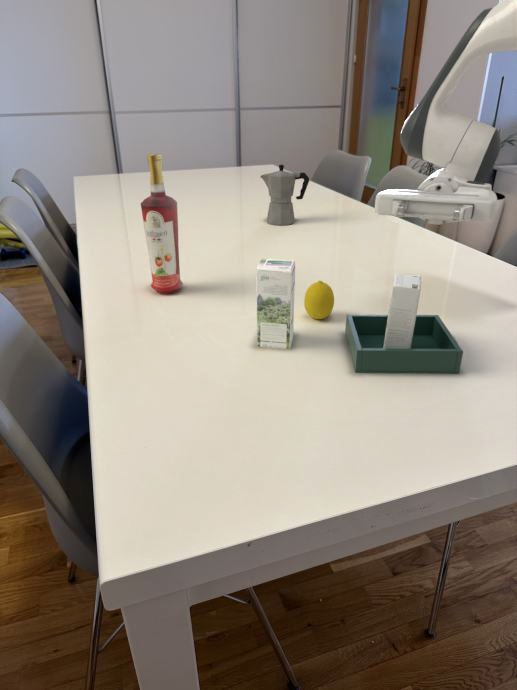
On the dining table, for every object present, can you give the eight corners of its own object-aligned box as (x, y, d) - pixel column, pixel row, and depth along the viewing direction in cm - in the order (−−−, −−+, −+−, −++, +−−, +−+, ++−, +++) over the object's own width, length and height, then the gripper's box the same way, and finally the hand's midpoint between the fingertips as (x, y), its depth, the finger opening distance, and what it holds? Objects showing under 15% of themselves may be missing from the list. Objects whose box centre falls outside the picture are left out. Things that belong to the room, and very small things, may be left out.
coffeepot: (259, 225, 164) (259, 166, 156) (261, 219, 172) (260, 162, 164) (308, 225, 163) (310, 166, 155) (307, 219, 172) (309, 162, 163)
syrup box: (294, 337, 91) (296, 258, 84) (290, 353, 85) (291, 269, 79) (262, 335, 91) (261, 256, 85) (256, 350, 86) (255, 268, 80)
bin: (434, 338, 90) (438, 314, 88) (458, 377, 78) (463, 351, 76) (344, 337, 90) (346, 314, 88) (354, 376, 78) (357, 350, 76)
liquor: (188, 285, 115) (178, 153, 102) (177, 297, 109) (165, 157, 96) (157, 283, 116) (144, 152, 104) (145, 295, 110) (128, 157, 97)
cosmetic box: (384, 340, 87) (392, 272, 81) (411, 343, 86) (421, 274, 80) (381, 357, 82) (389, 285, 76) (411, 360, 81) (421, 288, 75)
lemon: (307, 328, 94) (309, 286, 91) (300, 316, 99) (301, 276, 95) (336, 325, 95) (339, 285, 91) (328, 314, 100) (330, 275, 96)
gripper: (385, 178, 98) (366, 191, 87) (501, 184, 90) (497, 198, 79) (382, 212, 101) (364, 227, 90) (494, 220, 93) (489, 238, 82)
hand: (427, 214), depth 84 cm, fingers open, 8 cm apart
